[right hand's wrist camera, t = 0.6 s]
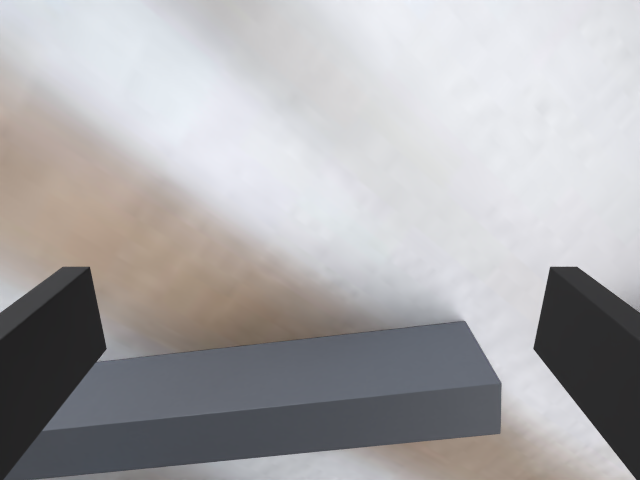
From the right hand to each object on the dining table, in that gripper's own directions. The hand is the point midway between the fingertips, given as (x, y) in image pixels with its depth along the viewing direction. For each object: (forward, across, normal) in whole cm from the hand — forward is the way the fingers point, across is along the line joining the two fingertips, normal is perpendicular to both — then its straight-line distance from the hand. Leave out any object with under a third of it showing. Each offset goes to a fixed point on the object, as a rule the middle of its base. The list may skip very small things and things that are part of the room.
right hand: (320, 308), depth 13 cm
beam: (+24, +15, +21) cm, 35 cm away
